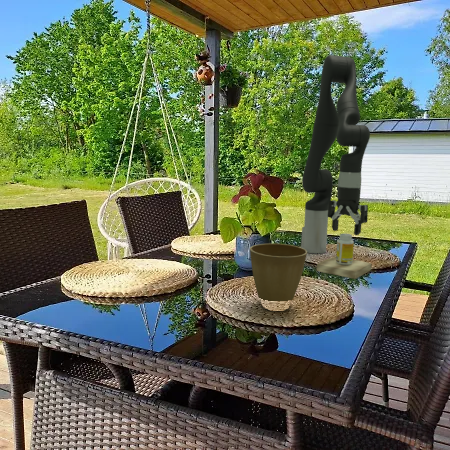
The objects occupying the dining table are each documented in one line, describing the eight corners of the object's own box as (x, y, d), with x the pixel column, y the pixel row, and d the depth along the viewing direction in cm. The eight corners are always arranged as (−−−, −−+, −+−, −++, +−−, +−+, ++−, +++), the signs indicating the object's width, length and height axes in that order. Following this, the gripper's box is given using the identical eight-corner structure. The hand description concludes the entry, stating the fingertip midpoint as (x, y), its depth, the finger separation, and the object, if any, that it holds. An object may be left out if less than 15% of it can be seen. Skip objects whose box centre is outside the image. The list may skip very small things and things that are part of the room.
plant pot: (267, 321, 114) (270, 258, 111) (238, 302, 127) (239, 245, 124) (315, 312, 121) (318, 252, 118) (283, 295, 134) (285, 241, 131)
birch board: (316, 271, 159) (316, 263, 159) (333, 263, 170) (334, 256, 169) (355, 278, 151) (355, 271, 150) (371, 269, 162) (371, 263, 161)
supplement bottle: (355, 263, 160) (357, 235, 158) (345, 266, 156) (347, 236, 154) (342, 260, 164) (344, 232, 162) (332, 262, 160) (334, 234, 159)
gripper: (325, 184, 158) (322, 230, 161) (361, 188, 147) (357, 237, 150) (338, 183, 162) (334, 228, 166) (374, 187, 152) (370, 234, 155)
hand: (345, 232), depth 158 cm, fingers open, 8 cm apart
